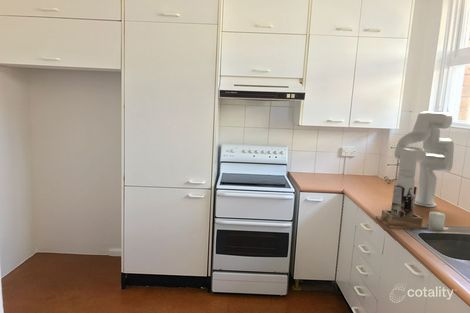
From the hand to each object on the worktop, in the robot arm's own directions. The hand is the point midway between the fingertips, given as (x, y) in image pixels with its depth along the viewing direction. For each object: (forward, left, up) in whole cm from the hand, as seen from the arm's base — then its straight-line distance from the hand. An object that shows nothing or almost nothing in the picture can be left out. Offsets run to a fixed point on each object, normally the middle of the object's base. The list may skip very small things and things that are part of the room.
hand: (402, 206), depth 178 cm
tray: (0, 0, -9) cm, 9 cm away
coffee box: (0, 0, -6) cm, 6 cm away
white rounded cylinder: (+4, +16, -9) cm, 19 cm away
